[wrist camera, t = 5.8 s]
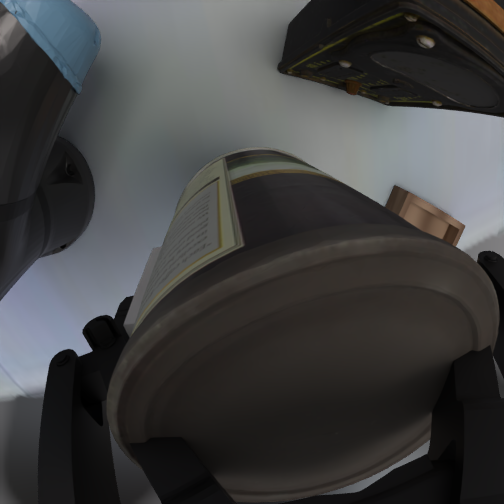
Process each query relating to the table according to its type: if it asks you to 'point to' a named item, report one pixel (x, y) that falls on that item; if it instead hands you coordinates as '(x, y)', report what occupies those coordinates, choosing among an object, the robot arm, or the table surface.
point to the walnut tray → (424, 216)
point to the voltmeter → (403, 51)
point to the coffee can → (294, 330)
